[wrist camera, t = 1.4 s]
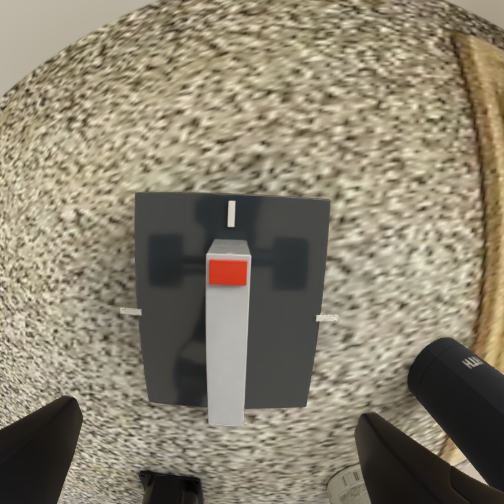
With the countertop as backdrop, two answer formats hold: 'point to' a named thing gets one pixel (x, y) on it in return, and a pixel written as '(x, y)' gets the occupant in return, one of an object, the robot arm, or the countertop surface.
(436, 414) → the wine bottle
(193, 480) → the robot arm
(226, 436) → the countertop surface
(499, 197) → the countertop surface
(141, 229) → the block
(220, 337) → the knob
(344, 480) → the spray can
